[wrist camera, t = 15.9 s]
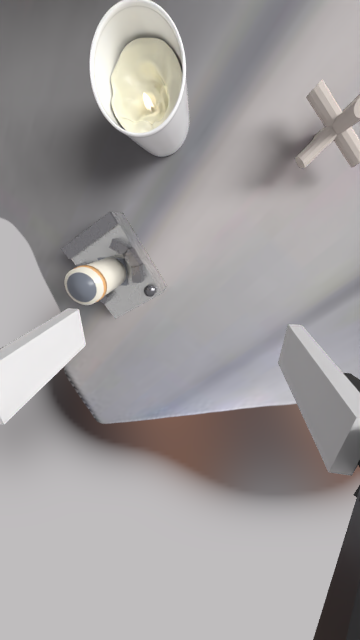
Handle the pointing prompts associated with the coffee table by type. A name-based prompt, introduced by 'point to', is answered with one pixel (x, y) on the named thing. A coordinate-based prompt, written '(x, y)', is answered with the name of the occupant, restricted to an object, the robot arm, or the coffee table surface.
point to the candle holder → (141, 75)
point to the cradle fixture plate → (118, 242)
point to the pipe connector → (332, 127)
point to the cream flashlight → (95, 279)
